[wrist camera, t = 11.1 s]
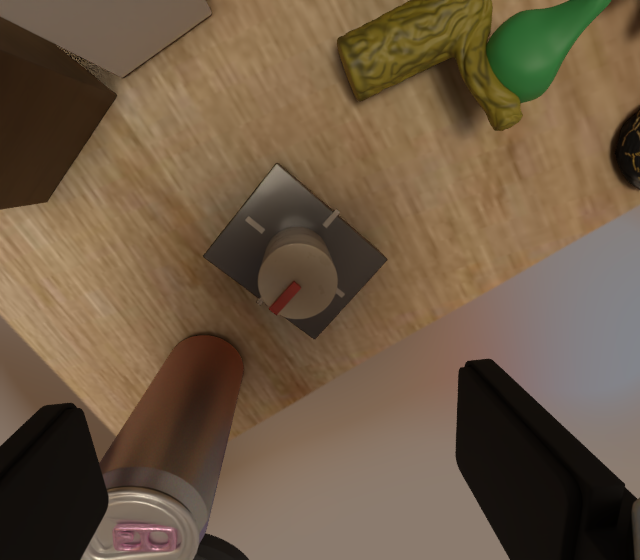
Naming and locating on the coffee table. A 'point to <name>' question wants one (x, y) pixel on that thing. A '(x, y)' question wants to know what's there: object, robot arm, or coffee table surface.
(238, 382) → the beverage can
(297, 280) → the knob
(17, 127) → the plinth
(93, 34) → the milk carton
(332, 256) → the panel
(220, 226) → the coffee table surface
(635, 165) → the rubber snake
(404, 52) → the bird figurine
